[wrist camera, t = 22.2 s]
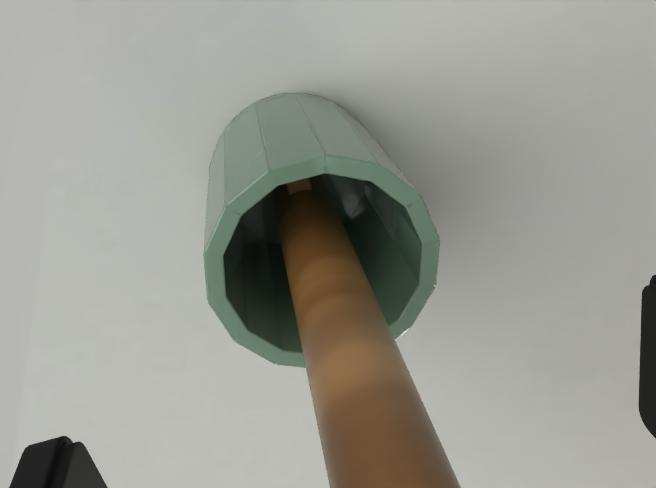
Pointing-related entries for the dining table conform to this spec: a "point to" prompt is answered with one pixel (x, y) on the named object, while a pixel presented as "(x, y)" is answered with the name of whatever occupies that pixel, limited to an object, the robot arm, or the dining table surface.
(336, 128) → the crock
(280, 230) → the wooden dowel rod
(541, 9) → the dining table surface
